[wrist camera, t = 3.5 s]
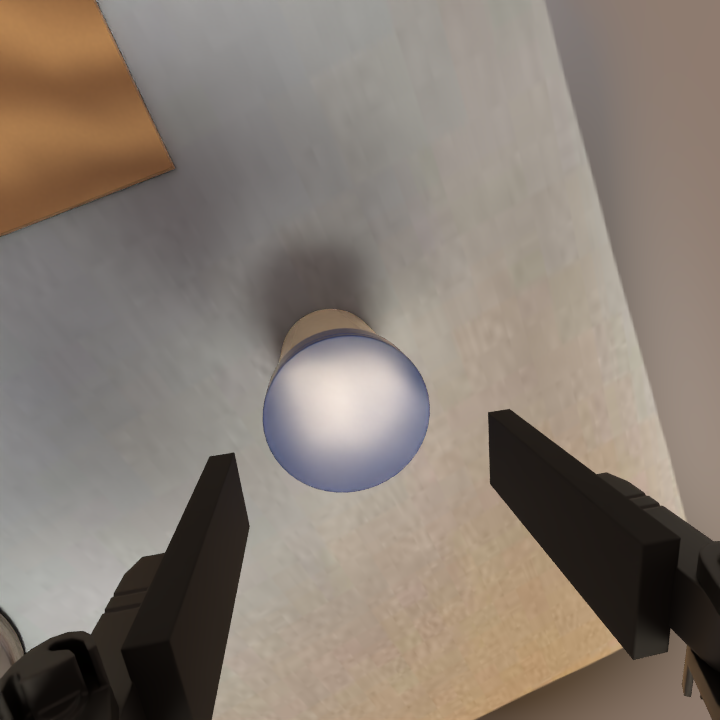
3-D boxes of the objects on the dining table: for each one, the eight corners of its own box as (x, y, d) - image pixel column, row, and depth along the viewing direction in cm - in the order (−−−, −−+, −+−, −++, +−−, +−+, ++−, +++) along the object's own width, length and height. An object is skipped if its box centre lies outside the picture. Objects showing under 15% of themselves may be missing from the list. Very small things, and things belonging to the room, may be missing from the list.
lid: (423, 461, 21) (434, 479, 19) (279, 485, 20) (277, 507, 19) (413, 318, 19) (424, 324, 17) (253, 339, 18) (248, 347, 17)
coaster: (175, 168, 24) (173, 166, 24) (-18, 244, 24) (-25, 244, 23) (62, -71, 21) (56, -79, 21) (-166, 11, 21) (-177, 6, 20)
